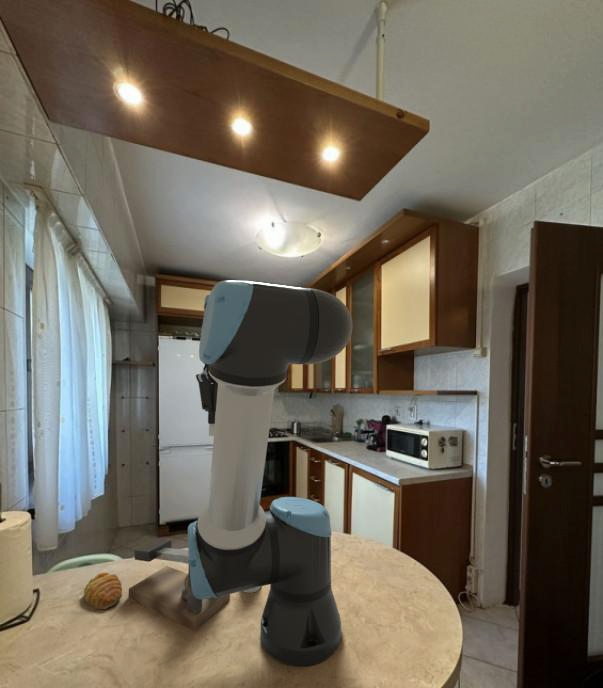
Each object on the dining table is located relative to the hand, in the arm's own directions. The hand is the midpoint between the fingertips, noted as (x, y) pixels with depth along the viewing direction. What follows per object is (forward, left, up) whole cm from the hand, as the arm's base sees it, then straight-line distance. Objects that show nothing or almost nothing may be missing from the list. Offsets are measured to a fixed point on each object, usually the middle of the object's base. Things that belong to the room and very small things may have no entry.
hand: (214, 435), depth 89 cm
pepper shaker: (-15, +3, -33) cm, 36 cm away
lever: (-3, +14, -25) cm, 29 cm away
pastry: (+11, +21, -33) cm, 41 cm away
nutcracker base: (-4, +14, -32) cm, 36 cm away
